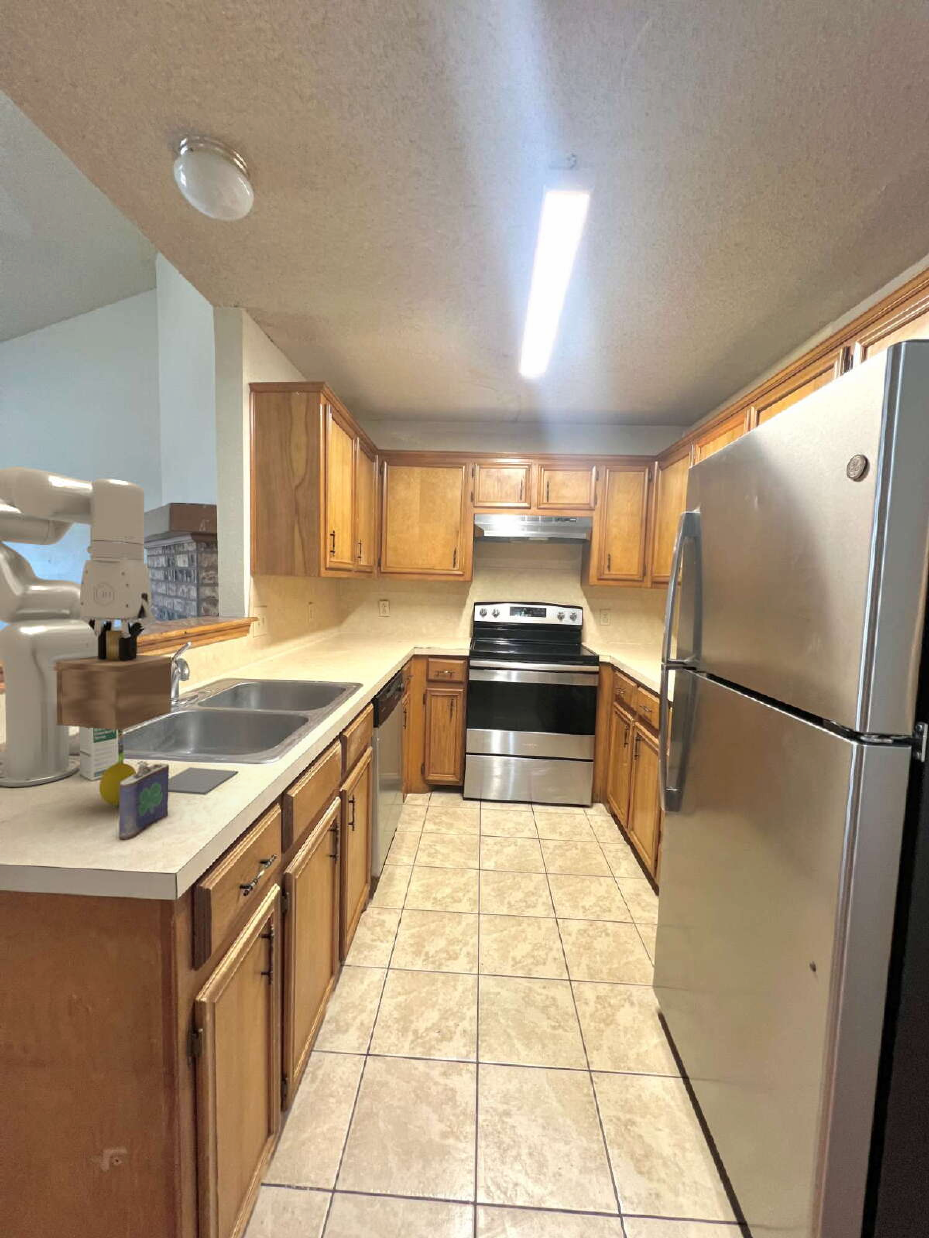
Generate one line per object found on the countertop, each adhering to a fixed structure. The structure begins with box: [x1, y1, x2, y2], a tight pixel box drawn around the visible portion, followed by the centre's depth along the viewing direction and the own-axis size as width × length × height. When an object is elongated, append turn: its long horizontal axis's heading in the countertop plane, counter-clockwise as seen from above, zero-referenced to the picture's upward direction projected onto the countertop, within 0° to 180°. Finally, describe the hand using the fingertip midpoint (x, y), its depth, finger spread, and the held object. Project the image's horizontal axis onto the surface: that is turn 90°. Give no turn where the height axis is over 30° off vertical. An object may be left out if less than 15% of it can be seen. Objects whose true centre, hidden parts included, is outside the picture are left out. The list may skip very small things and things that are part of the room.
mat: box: [168, 767, 239, 796], centre depth 97 cm, size 11×11×1 cm
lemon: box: [99, 762, 137, 807], centre depth 84 cm, size 6×6×8 cm
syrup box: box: [78, 727, 124, 782], centre depth 98 cm, size 6×6×14 cm
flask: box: [118, 760, 170, 841], centre depth 78 cm, size 9×3×11 cm, turn 173°
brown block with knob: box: [56, 629, 172, 731], centre depth 83 cm, size 12×12×16 cm
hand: (117, 657), depth 83 cm, fingers closed on brown block with knob, 3 cm apart
